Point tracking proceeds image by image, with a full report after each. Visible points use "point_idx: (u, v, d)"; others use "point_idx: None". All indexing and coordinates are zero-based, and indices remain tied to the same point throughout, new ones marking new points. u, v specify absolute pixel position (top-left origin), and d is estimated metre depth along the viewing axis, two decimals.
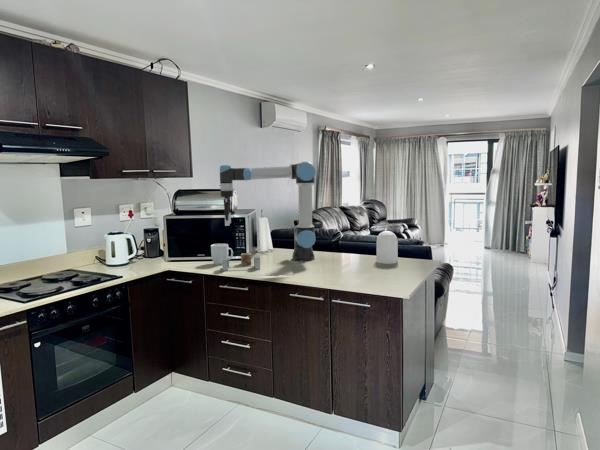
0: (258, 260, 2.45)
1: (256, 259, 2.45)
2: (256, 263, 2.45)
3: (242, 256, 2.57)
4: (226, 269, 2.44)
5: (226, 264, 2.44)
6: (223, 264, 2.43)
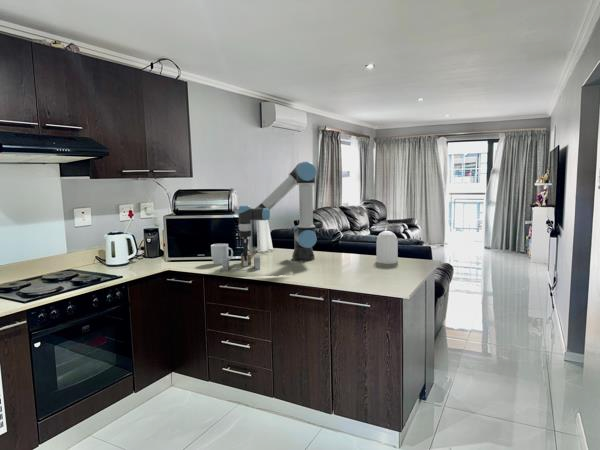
0: (258, 260, 2.45)
1: (256, 259, 2.45)
2: (256, 263, 2.45)
3: (242, 256, 2.57)
4: (226, 269, 2.44)
5: (226, 264, 2.44)
6: (223, 264, 2.43)
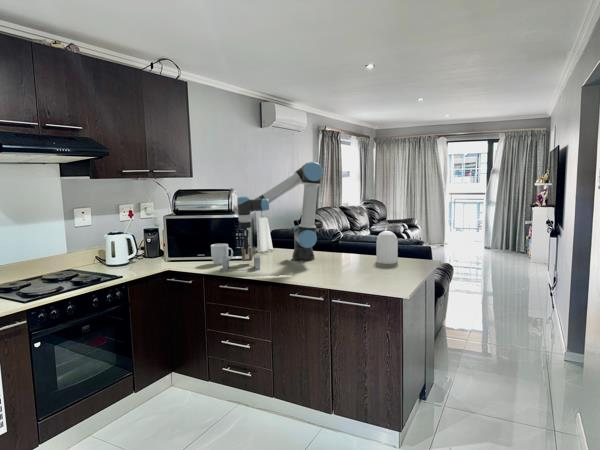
0: (258, 260, 2.45)
1: (256, 259, 2.45)
2: (256, 263, 2.45)
3: (242, 249, 2.57)
4: (226, 269, 2.44)
5: (226, 264, 2.44)
6: (223, 264, 2.43)
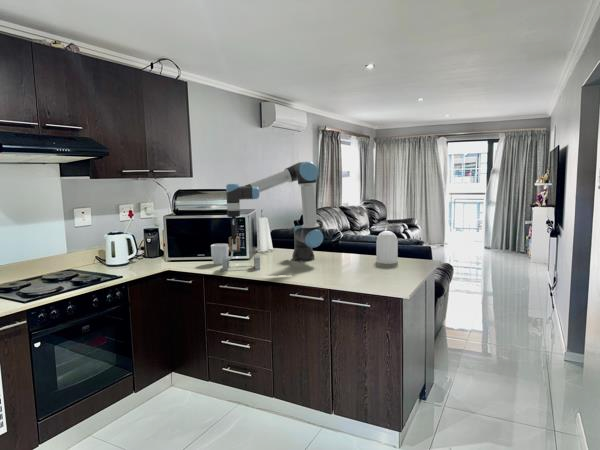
0: (258, 260, 2.45)
1: (256, 259, 2.45)
2: (256, 263, 2.45)
3: (230, 239, 2.43)
4: (226, 269, 2.44)
5: (226, 264, 2.44)
6: (223, 264, 2.43)
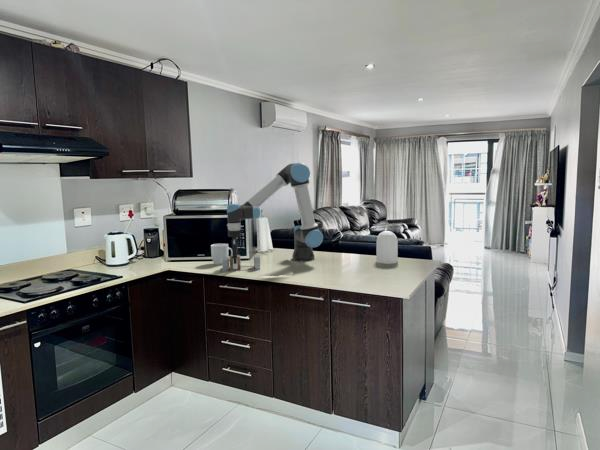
0: (258, 260, 2.45)
1: (256, 259, 2.45)
2: (256, 263, 2.45)
3: (231, 259, 2.45)
4: (226, 269, 2.44)
5: (226, 264, 2.44)
6: (223, 264, 2.43)
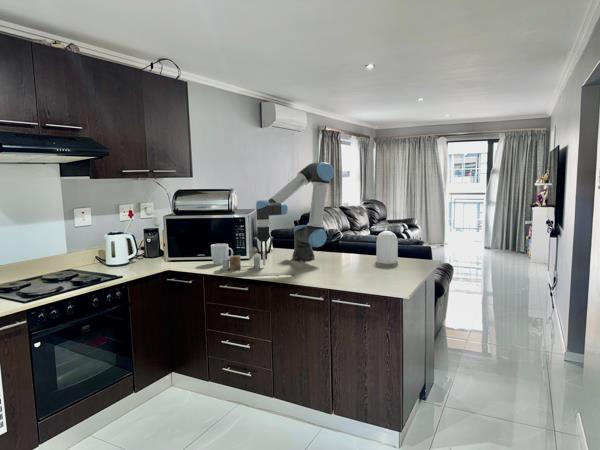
0: (258, 260, 2.45)
1: (256, 259, 2.45)
2: (256, 263, 2.45)
3: (231, 259, 2.45)
4: (226, 269, 2.44)
5: (226, 264, 2.44)
6: (223, 264, 2.43)
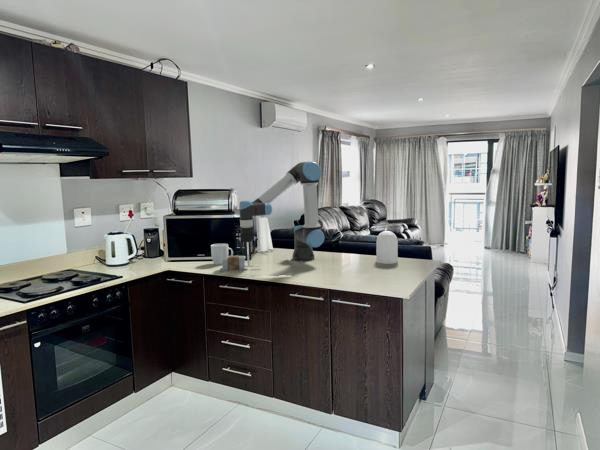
0: (242, 261, 2.44)
1: (240, 260, 2.44)
2: (240, 264, 2.44)
3: (229, 259, 2.45)
4: (226, 269, 2.44)
5: (226, 264, 2.44)
6: (223, 264, 2.43)
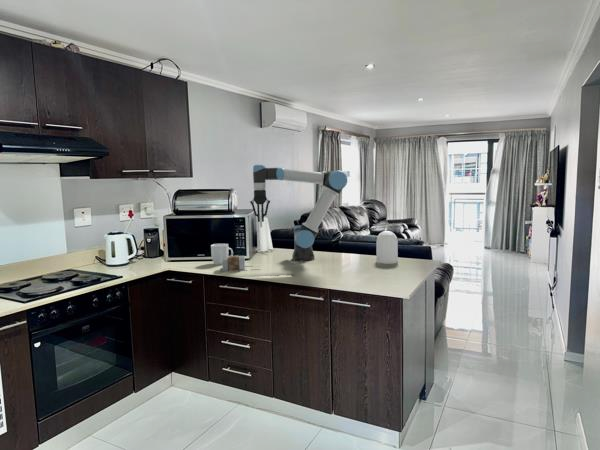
0: (242, 261, 2.44)
1: (240, 260, 2.44)
2: (240, 264, 2.44)
3: (229, 259, 2.45)
4: (226, 269, 2.44)
5: (226, 264, 2.44)
6: (223, 264, 2.43)
